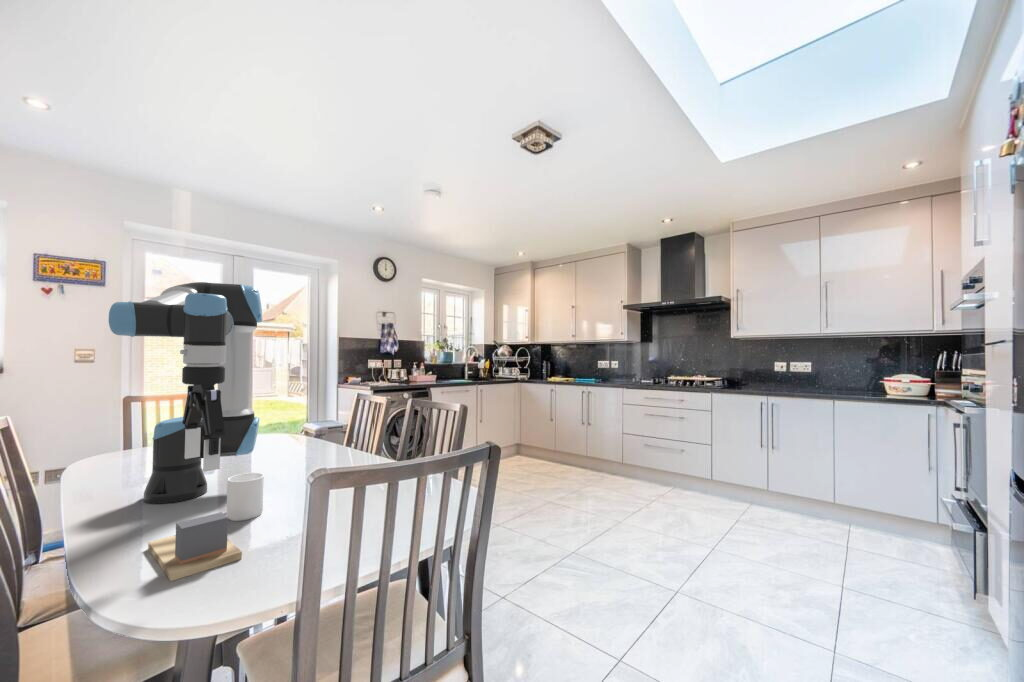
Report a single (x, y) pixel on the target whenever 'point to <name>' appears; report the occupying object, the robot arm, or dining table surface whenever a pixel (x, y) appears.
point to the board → (174, 570)
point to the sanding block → (201, 537)
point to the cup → (245, 496)
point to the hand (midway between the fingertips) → (201, 463)
